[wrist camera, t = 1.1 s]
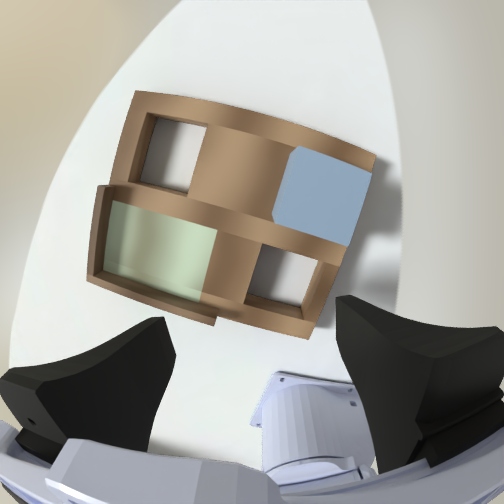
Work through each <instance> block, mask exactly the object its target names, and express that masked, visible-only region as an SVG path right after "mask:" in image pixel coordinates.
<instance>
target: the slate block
mask: <svg viewBox="0 0 504 504" xmlns="http://www.w3.org/2000/svg"><path fill="white" fill-rule="evenodd" d="M371 176H372V173H370V172H367V171H365V170H363V169H360V168H358V167H356V166H353V165H351V164H348V163H346V162H343V161H340V160H338V159H335V158H333V157H330V156H327V155H325V154H322V153H319V152H316V151H313V150H311V149H308V148H305V147H302V146H298V147H297V148H296V149H295V150H294V151H292V152H291V153H290V156H289V159H288V162H287V166H286V169H285V172H284V175H283V179H282V182H281V185H280V188H279V191H278V195H277V198H276V201H275V204H274V208H273V211H272V216H273V219H274V222H275V224H279V225H282V226H285V227H288V228H292V229H295V230H298V231H301V232H304V233H307V234H311V235H314V236H317V237H320V238H323V239H326V240H329V241H332V242H335V243H338V244H341V245H344V246H347V247H348V246H349V244H350V241H351V238H352V235H353V232H354V230H355V227H356V224H357V221H358V218H359V215H360V212H361V209H362V206H363V203H364V199H365V196H366V193H367V190H368V187H369V183H370V180H371Z"/></svg>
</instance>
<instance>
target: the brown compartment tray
mask: <svg viewBox="0 0 504 504" xmlns="http://www.w3.org/2000/svg"><path fill="white" fill-rule="evenodd" d="M157 118H161V119H167V120H173V121H178V122H183V123H188V124H193V125H198V126H203V127H207V129H206V132H205V136H204V139H203V142H202V145H201V149H200V152H199V155H198V159H197V162H196V166H195V169H194V173H193V176H192V180H191V184H190V187H189V191H188V194H186V193H183V192H179V191H175V190H171V189H167V188H164V187H160V186H156V185H152V184H148V183H144V182H140V177H141V173H142V169H143V165H144V161H145V157H146V153H147V150H148V146H149V143H150V139H151V136H152V133H153V129H154V126H155V123H156V120H157ZM298 146H302V147H305V148H308V149H311V150H313V151H316V152H319V153H322V154H325V155H327V156H330V157H333V158H335V159H338V160H340V161H343V162H346V163H348V164H351V165H353V166H356V167H358V168H360V169H363V170H365V171H367V172H370V173H371V172H372V169H373V165H374V162H375V158H376V155H375V154H373V153H371V152H368V151H366V150H364V149H361V148H359V147H357V146H354V145H352V144H349V143H347V142H345V141H342V140H340V139H337V138H334V137H332V136H329V135H326V134H324V133H321V132H318V131H315V130H313V129H310V128H307V127H304V126H301V125H298V124H295V123H292V122H288V121H285V120H282V119H279V118H275V117H272V116H268V115H265V114H261V113H258V112H254V111H250V110H246V109H242V108H238V107H234V106H229V105H225V104H220V103H216V102H211V101H206V100H201V99H195V98H189V97H183V96H177V95H170V94H163V93H155V92H147V91H137V90H136V91H135V93H134V96H133V99H132V102H131V105H130V108H129V111H128V114H127V117H126V120H125V123H124V127H123V130H122V134H121V137H120V141H119V144H118V148H117V152H116V156H115V160H114V164H113V168H112V173H111V177H110V182H109V185H99V186H98V187H97V193H96V198H95V204H94V210H93V217H92V224H91V232H90V241H89V251H88V263H87V280H86V281H88V282H90V283H93V284H95V285H97V286H100V287H102V288H105V289H107V290H110V291H112V292H115V293H117V294H120V295H123V296H125V297H128V298H130V299H133V300H136V301H138V302H141V303H144V304H147V305H150V306H152V307H155V308H158V309H161V310H164V311H167V312H170V313H173V314H176V315H179V316H182V317H185V318H188V319H191V320H194V321H198V322H201V323H204V324H207V325H211V326H214V325H215V321H216V318H217V316H219V317H222V318H226V319H229V320H233V321H236V322H240V323H243V324H247V325H251V326H254V327H258V328H262V329H266V330H270V331H274V332H278V333H282V334H286V335H290V336H294V337H299V338H303V339H307V340H309V338H310V336H311V334H312V331H313V329H314V327H315V325H316V323H317V320H318V318H319V316H320V313H321V311H322V309H323V307H324V304H325V302H326V299H327V297H328V295H329V292H330V290H331V287H332V285H333V282H334V280H335V277H336V275H337V272H338V270H339V267H340V265H341V262H342V259H343V257H344V254H345V251H346V249H347V246H344V245H341V244H338V243H335V242H332V241H329V240H326V239H323V238H320V237H317V236H314V235H311V234H307V233H304V232H301V231H298V230H295V229H292V228H288V227H285V226H282V225H279V224H275V222H274V219H273V216H272V211H273V208H274V204H275V201H276V198H277V195H278V191H279V188H280V185H281V182H282V179H283V175H284V172H285V169H286V166H287V162H288V159H289V156H290V153H291V152H292V151H294V150H295V149H296V148H297V147H298ZM262 243H263V244H267V245H270V246H273V247H277V248H280V249H283V250H287V251H290V252H293V253H296V254H300V255H303V256H306V257H310V258H313V259H316V260H318V263H317V266H316V268H315V271H314V274H313V276H312V279H311V281H310V284H309V287H308V289H307V292H306V294H305V297H304V299H303V302H302V304H301V307H300V308H299V307H295V306H291V305H287V304H283V303H280V302H276V301H272V300H269V299H265V298H262V297H258V296H254V295H251V294H247V290H248V287H249V284H250V281H251V278H252V274H253V271H254V268H255V265H256V262H257V259H258V255H259V252H260V249H261V246H262Z"/></svg>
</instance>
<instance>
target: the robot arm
mask: <svg viewBox="0 0 504 504" xmlns="http://www.w3.org/2000/svg"><path fill="white" fill-rule="evenodd" d="M336 341H337V344H338V348H339V351H340V354H341V357H342V360H343V362H344V364H345V366H346V368H347V371H348V373H349V375H350V377H351V379H352V381H353V384H354V385H352V384H344V383H336V382H330V381H323V380H317V379H311V378H305V377H300V376H294V375H289V374H284V373H279V372H276V373H274V374H272V376H271V378H270V380H269V382H268V385H267V387H266V389H265V391H264V393H263V395H262V397H261V399H260V401H259V403H258V405H257V407H256V409H255V411H254V413H253V415H252V417H251V419H250V422H249V424H250V425H251V426H254V427H259V428H262V471H259V470H256V469H253V468H250V467H247V466H244V465H241V464H239V463H234V462H225V461H217V460H211V459H203V458H188V457H176V456H167V455H159V454H152V453H147V449H148V444H149V439H150V434H151V430H152V426H153V422H154V418H155V415H156V412H157V410H158V407H159V405H160V402H161V400H162V397H163V395H164V393H165V390H166V388H167V385H168V383H169V380H170V378H171V375H172V372H173V368H174V364H175V359H176V353H175V350H174V347H173V344H172V341H171V337H170V334H169V331H168V328H167V325H166V321H165V318H164V317H151V318H148V319H146V320H144V321H142V322H140V323H139V324H137V325H135V326H133V327H132V328H130V329H128V330H126V331H125V332H123V333H121V334H120V335H118V336H116V337H114V338H112V339H111V340H109V341H107V342H105V343H103V344H101V345H99V346H97V347H95V348H93V349H91V350H89V351H86V352H84V353H81V354H79V355H76V356H73V357H70V358H67V359H63V360H60V361H56V362H52V363H48V364H42V365H36V366H27V367H14V368H11V369H9V370H8V371H7V372H6V373H5V374H4V375H3V376H2V377H1V378H0V395H1V397H2V399H3V400H4V402H5V403H6V405H7V406H8V408H9V409H10V411H11V412H12V414H13V415H14V416H15V418H16V419H17V420H18V422H19V423H20V424H21V426H22V427H23V428H22V430H21V431H20V432H19V431H18V430H17V429H16V428H14V427H13V426H11V425H10V424H8V423H6V422H4V421H3V420H0V481H1V482H2V483H3V484H4V485H5V486H7V487H8V488H9V489H10V490H11V491H12V492H14V493H15V494H16V495H18V496H19V497H20V498H22V499H23V500H24V501H26V502H27V503H29V504H487V503H488V502H490V501H491V500H492V499H494V498H495V497H496V496H498V495H499V494H500V493H502V492H503V491H504V402H503V401H502V400H501V399H502V398H503V396H504V392H503V391H502V390H501V389H500V388H499V386H500V384H501V382H502V380H503V377H504V332H503V331H502V330H500V329H499V328H498V327H496V326H493V327H480V328H457V327H456V328H455V327H445V326H438V325H431V324H426V323H421V322H417V321H414V320H410V319H407V318H403V317H400V316H398V315H395V314H393V313H390V312H388V311H385V310H383V309H381V308H378V307H376V306H374V305H372V304H370V303H368V302H365V301H363V300H361V299H359V298H357V297H355V296H352V295H346V296H340V297H336ZM281 378H284V379H281ZM349 389H350V390H349ZM258 423H260V424H258ZM375 456H376V461H377V467H378V473H379V475H377V474H376V472H375V470H374V469H373V468H370V467H371V465H372V463H373V461H374V458H375Z"/></svg>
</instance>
